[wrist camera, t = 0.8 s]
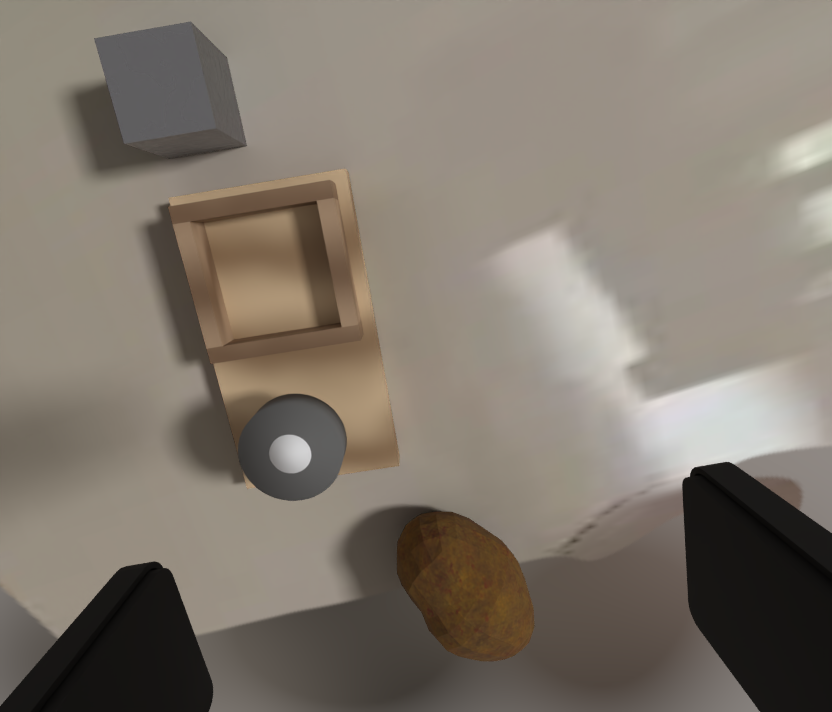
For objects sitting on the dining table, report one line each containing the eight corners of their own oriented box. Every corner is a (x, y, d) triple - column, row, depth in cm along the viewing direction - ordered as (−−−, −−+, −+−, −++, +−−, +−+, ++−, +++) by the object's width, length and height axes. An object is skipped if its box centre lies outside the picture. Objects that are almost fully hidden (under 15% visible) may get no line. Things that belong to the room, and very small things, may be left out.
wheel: (238, 401, 29) (226, 413, 27) (336, 386, 29) (331, 397, 27) (261, 490, 30) (251, 508, 28) (355, 476, 30) (351, 492, 28)
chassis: (179, 199, 31) (151, 195, 27) (348, 171, 30) (340, 163, 27) (253, 478, 35) (237, 504, 32) (399, 456, 35) (398, 479, 32)
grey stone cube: (146, 71, 29) (94, 38, 24) (227, 58, 29) (190, 21, 24) (169, 158, 30) (124, 143, 25) (247, 146, 30) (216, 128, 25)
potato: (439, 470, 36) (448, 532, 28) (554, 564, 38) (590, 646, 30) (368, 541, 37) (358, 618, 29) (483, 628, 39) (500, 721, 32)
